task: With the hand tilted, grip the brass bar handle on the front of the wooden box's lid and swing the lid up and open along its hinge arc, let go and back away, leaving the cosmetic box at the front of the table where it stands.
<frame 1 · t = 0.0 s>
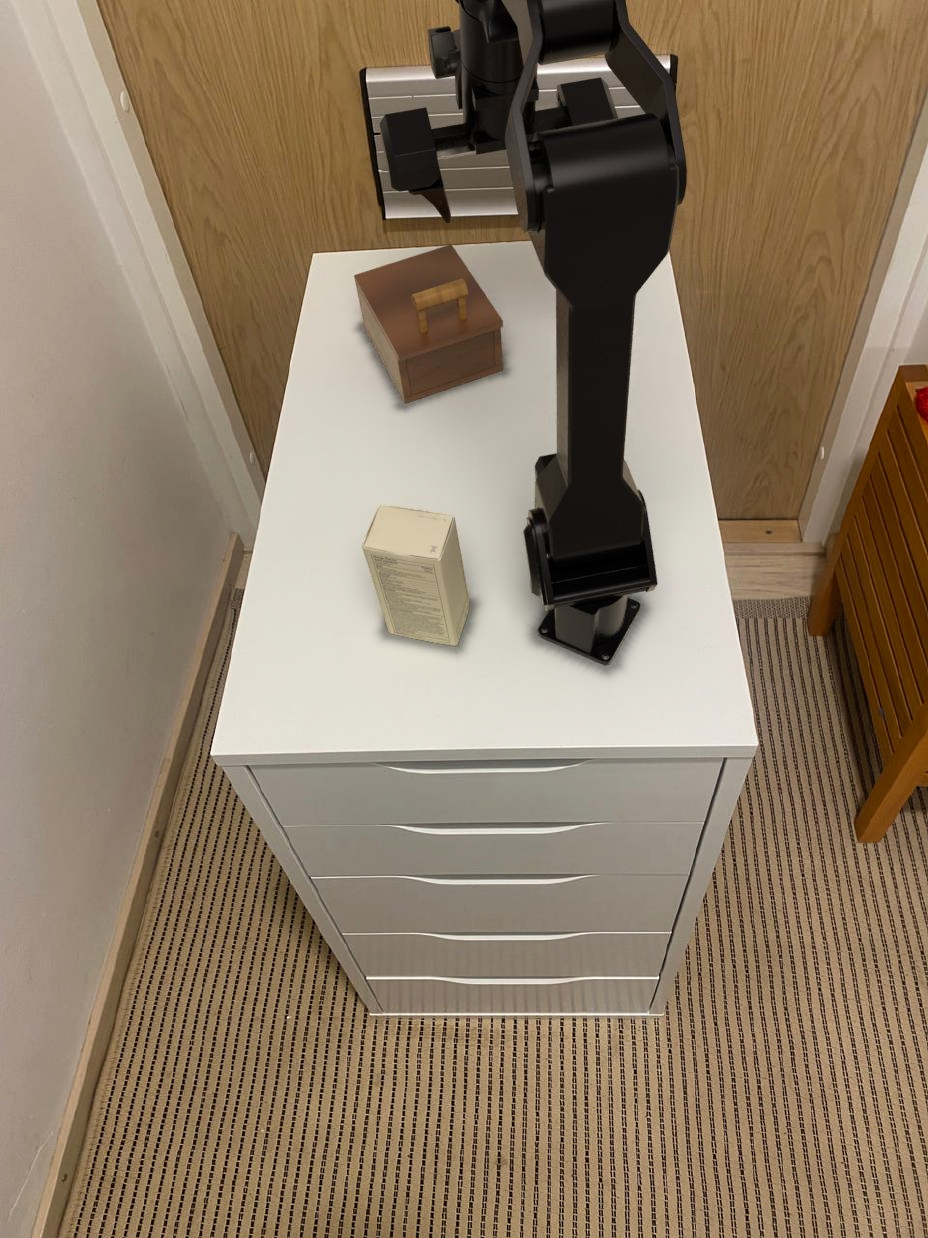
hand: (498, 209, 84), 15 cm above the table, tool pointing down, fingers open, 9 cm apart
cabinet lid: (424, 282, 91), point 8 cm above the table, hinge at 0.0°
wooden box: (432, 348, 98), on the table
cosmetic box: (428, 622, 80), on the table
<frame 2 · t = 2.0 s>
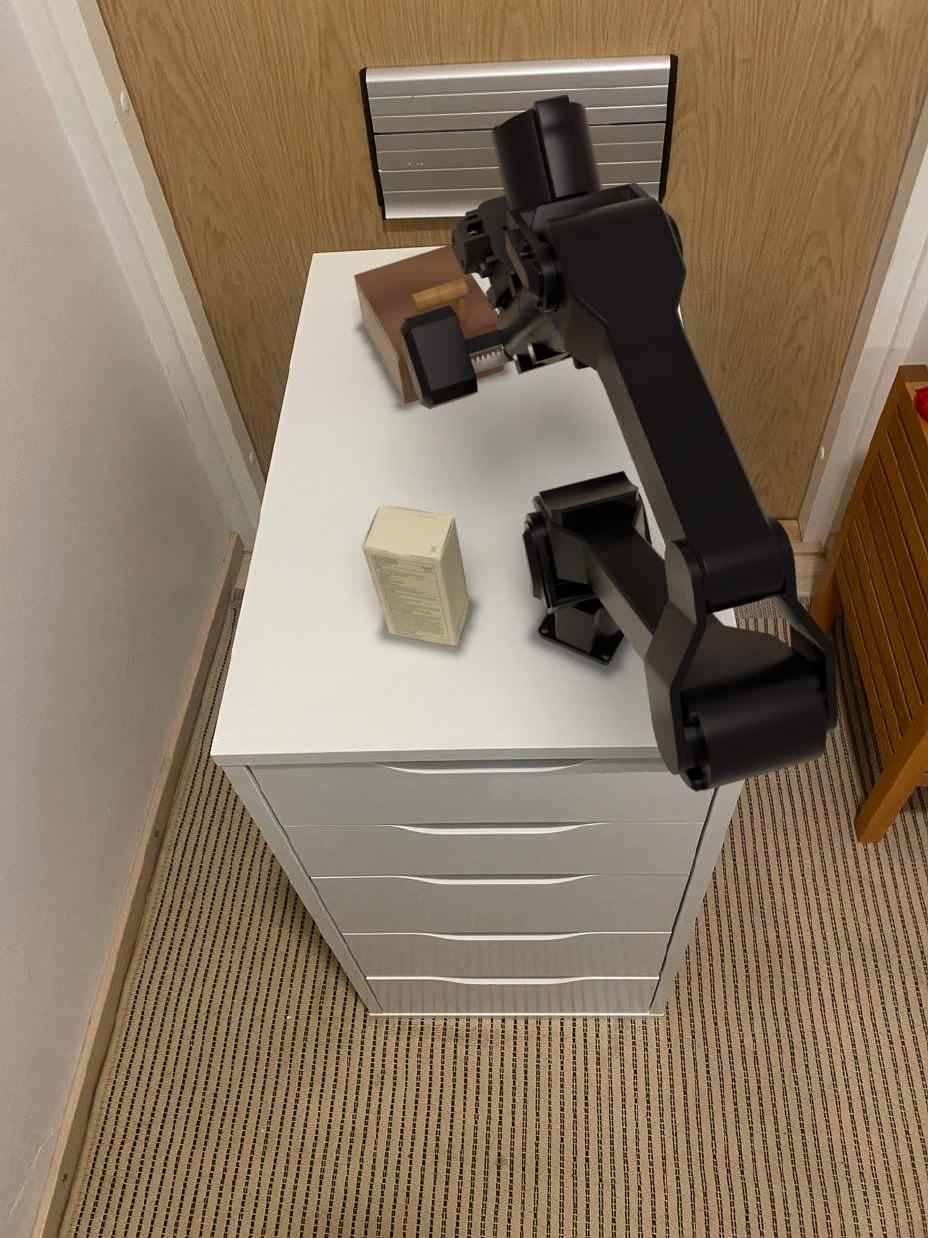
hand: (506, 350, 76), 14 cm above the table, tool tilted 40°, fingers open, 9 cm apart
nothing on the table moved.
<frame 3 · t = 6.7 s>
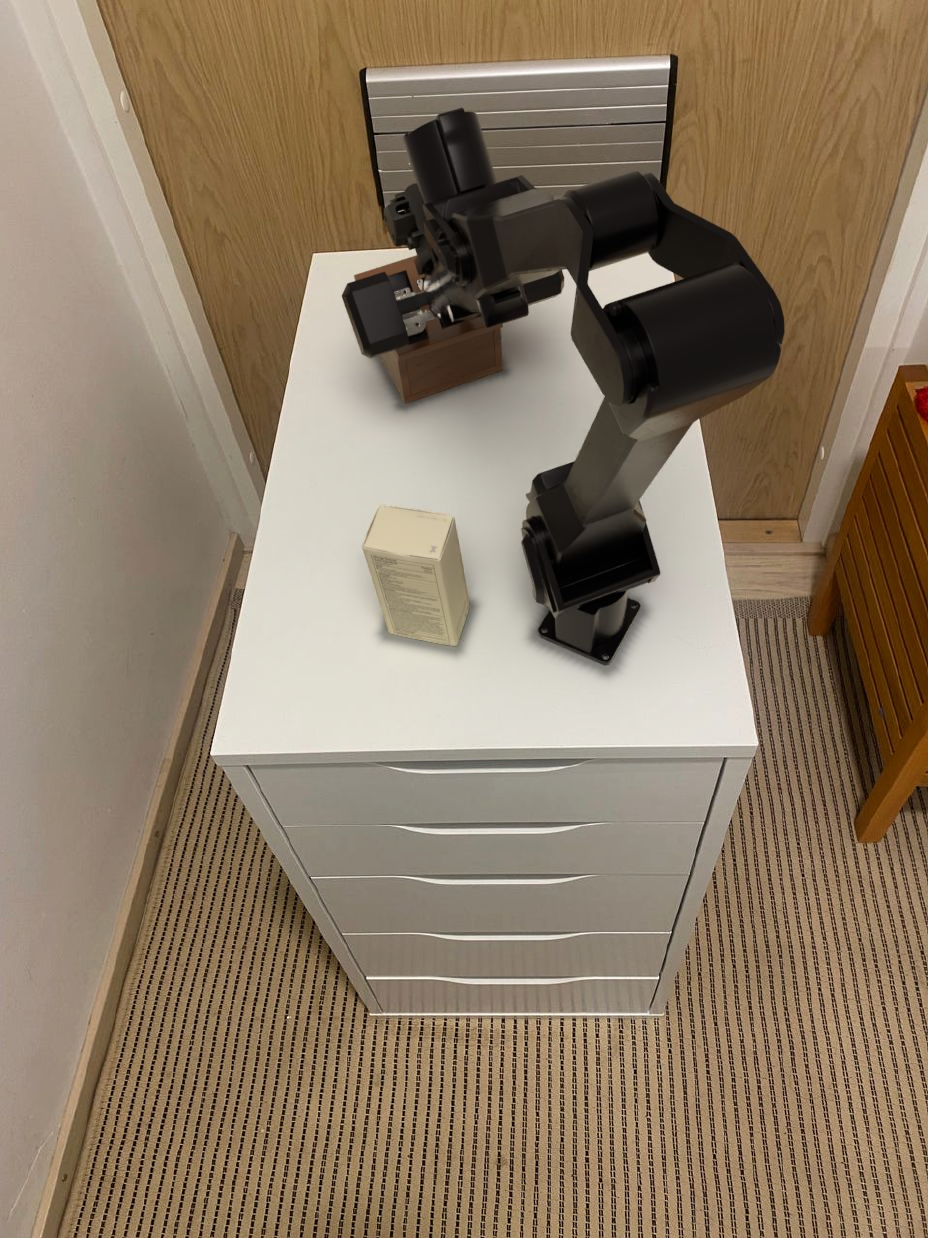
hand: (437, 306, 90), 8 cm above the table, tool tilted 45°, fingers closed on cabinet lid, 5 cm apart
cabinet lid: (424, 282, 91), point 8 cm above the table, hinge at 0.0°, touching gripper
everything else where it was.
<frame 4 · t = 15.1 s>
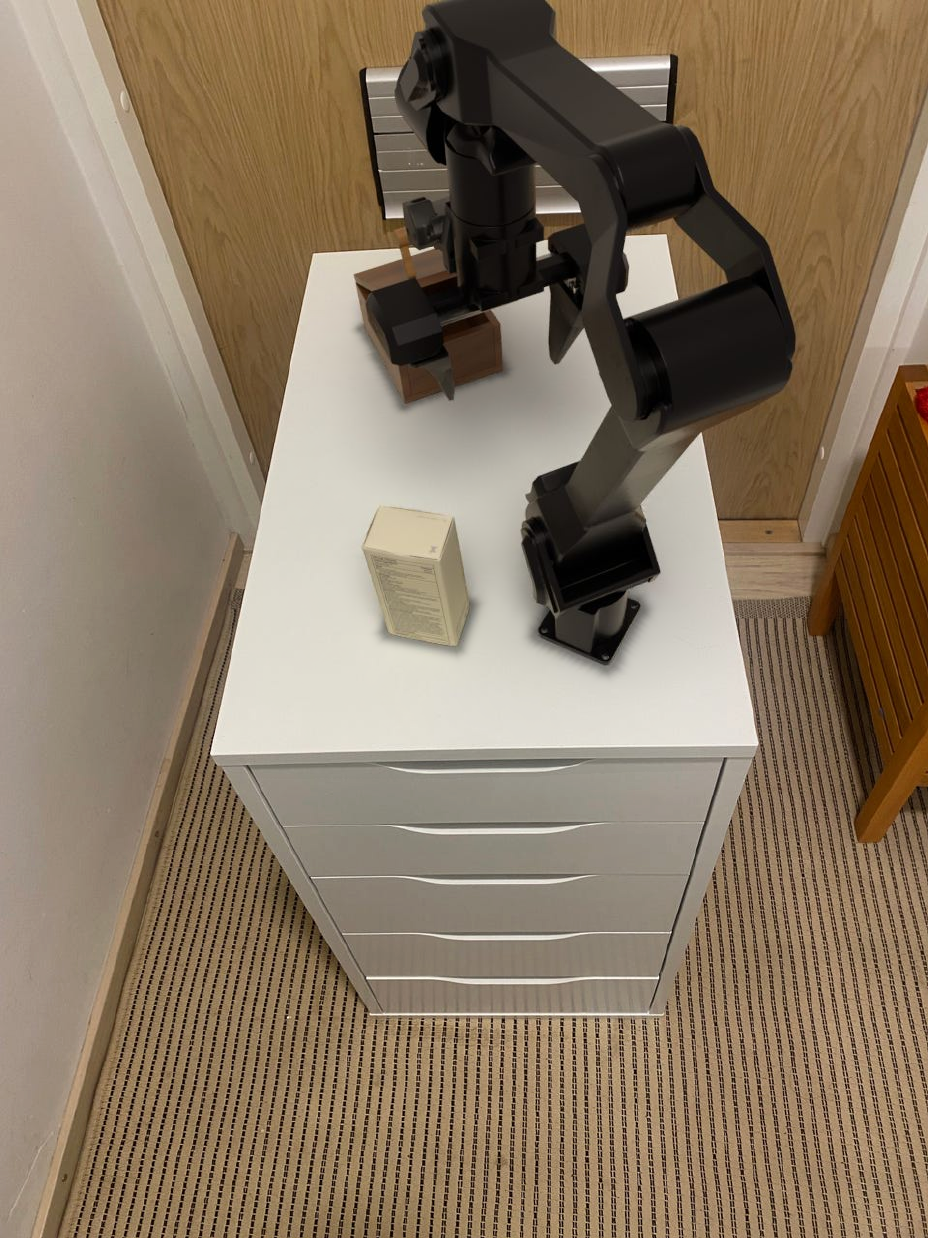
hand: (502, 378, 76), 13 cm above the table, tool pointing down, fingers open, 9 cm apart
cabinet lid: (414, 246, 89), point 11 cm above the table, hinge at 27.5°
everything else where it was.
at the end: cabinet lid at +28° (first picture: +0°); the gripper is holding nothing; cosmetic box moved 0.2 cm from its start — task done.
